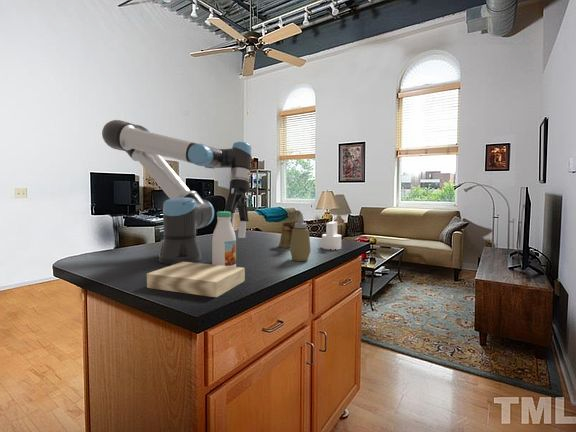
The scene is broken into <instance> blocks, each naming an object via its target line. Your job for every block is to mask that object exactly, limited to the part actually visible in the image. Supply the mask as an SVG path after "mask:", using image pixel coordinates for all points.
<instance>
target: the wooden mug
mask: <svg viewBox="0 0 576 432" xmlns="http://www.w3.org/2000/svg"><path fill="white" fill-rule="evenodd" d="M299 214H303V213H302V211H300V210H296V211H292V213H291V214H290V215H289V222H283V223H282V226H281V234H280V239H279V240H280V241H279V245H278V248H283V249H290V245H291V237H292V230H293V229H294V228H295V223H297V222H298V218H299Z"/></svg>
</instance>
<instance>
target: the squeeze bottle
mask: <svg viewBox="0 0 576 432" xmlns="http://www.w3.org/2000/svg"><path fill="white" fill-rule="evenodd" d="M304 220H305V219H304V216H303V213H302V214H299V218H298V222H297V223H295V228H294V229H293V230H292V237H291V245H290V248H289V251H290V256H291V258H292V260H293V261H296V262H305V261H308V260H309V257H310V254H311V238H310V230H309V229H308V227H307V226H308V225H307V224H308V223H307V222H305V221H304Z"/></svg>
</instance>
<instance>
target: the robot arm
mask: <svg viewBox="0 0 576 432" xmlns="http://www.w3.org/2000/svg"><path fill="white" fill-rule="evenodd" d="M101 135H102V137H101V138H102V139H103V141H104V143H105V144H106V145H107V146H108V147H110V148H111V149H113V150H117V151H118V150H119V151H124V152H125V153H126V154H128V156H129V157H130V158H131V159H132V161H134V162H139V164H141V166H143V168H144V169H145V170H146V171H147V174H149V175H150V177H151V178H152V179H153V180H154V181H155V182H156V183H157V185H158V186H159V187H160V189H162V191H163V192H164V194H166V196H167V197H168V198H169V199H166V200H165V201H164V202H163V204H162V205H163V206H162V207H163V208H162V217H163V218H162V220H163V221H162V223H163V242H162V246H161V249H160V251H159V254H158V258H159V259H158V261H159V263H161V264H165V265H174V264H177V263H180V262H192V263H198V262H200V261H201V260H202V254H201V250H200V247H199V244H198V241H197V230H198V229H202V228H206V227H207V226H209V225H210V224H212V222H213V220H214V218H215V209H214V206H213V204H212V203H211V202H210V201H209V200H206V199H203V198H202V197H201V195H200V194H199V193H198V192H197V191H195V190H190V188H189V187H188V186H187V185H186V183H185V182H184V181H183V180H182V179H181V177H179V175H178V174H177V173H176V171H174V169H173V168H172V167H171V165H170V164H169V163H168V162H167V161H166V159H165V158H170V159H174V160H176V161H177V160H178V161H181V162H186V163H189V164H193V165H196V166H199V167H204V168H206V169H213V170H214V169H225V168H229V169H230V176H229V177H230V178H229V179H230V181H229V187H228V189H229V193H228V196H227V199H226V203H225V206H224V211H227V212H231V219H230V220H231V225H232V227H233V230H234V231H235V229H234V228H235V216H236V215H235V211H236V209H237V210H238V217H239V221H238V231H237V232H238V233H237V238H238V239H239V238H240V239H241V238H243V239H244V238H246V232H247V231H246V228H247V222H248V223H249V212H248V197H247V196H245V194H246V193H248V192H249V191H250V178H251V177H250V176H252V173H251V163H252V146H251V144H249V143H247V142H245V141H237V142H234V143H233V144H232V147H230V148H216V147H213V146H209V145H206V144H203V143H195V142H192V141H188V140H183V139H180V138H177V137H172V136H167V135H162V134H158V133H154V132H151V131H150V130H149V129H148V128H146V127H145V126H142V125H140V124H134V123H130V122H127V121H124V120H121V119H114V120H110V121H108V122H106V123H105V125H104V126H103V128H102V132H101ZM164 157H165V158H164Z"/></svg>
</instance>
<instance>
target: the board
mask: <svg viewBox="0 0 576 432" xmlns="http://www.w3.org/2000/svg"><path fill="white" fill-rule="evenodd" d="M245 269H246V268H245V267H241V266H236V267H231V266H222V265H212V263H211V264H210V263H200V262H193V263H192V262H180V263H177V264H170V265H169V266H165V267H162V268H160V269H156V270H153V271H150V272H148V273H146V288H148V289H154V290H160V291H161V290H162V291H167V292H168V291H169V292H175V293H184V294H188V295H189V294H190V295H197V296H203V297H212V298H218V297H220V296H221V295H224V294H225V293H226V292H227V293H228V291H230V290H231V289H234V288H235V287H237V286H239V285H240V284H242V283H243V282H246V281H245V280H246V279H245V278H246V276H245V275H246V272H245V271H246V270H245Z"/></svg>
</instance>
